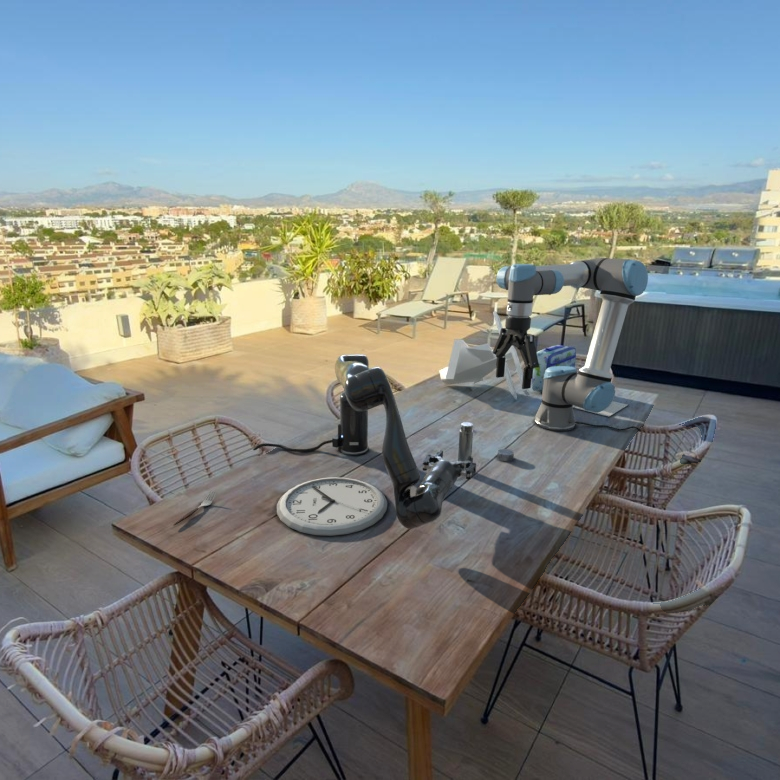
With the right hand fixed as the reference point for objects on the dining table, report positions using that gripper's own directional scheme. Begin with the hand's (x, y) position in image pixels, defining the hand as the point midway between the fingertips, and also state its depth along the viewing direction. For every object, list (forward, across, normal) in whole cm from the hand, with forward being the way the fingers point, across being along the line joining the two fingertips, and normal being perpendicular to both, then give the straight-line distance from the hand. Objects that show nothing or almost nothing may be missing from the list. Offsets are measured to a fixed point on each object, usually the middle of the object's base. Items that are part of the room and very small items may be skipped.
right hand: (512, 382), depth 166 cm
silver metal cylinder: (+26, +3, -18) cm, 32 cm away
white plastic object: (+26, -65, +32) cm, 77 cm away
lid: (+24, 0, 0) cm, 24 cm away
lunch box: (+26, -56, +67) cm, 91 cm away
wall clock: (+26, +7, -63) cm, 68 cm away
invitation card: (+26, -28, +71) cm, 80 cm away
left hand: (+17, +10, -26) cm, 32 cm away
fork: (+26, -3, -97) cm, 101 cm away
